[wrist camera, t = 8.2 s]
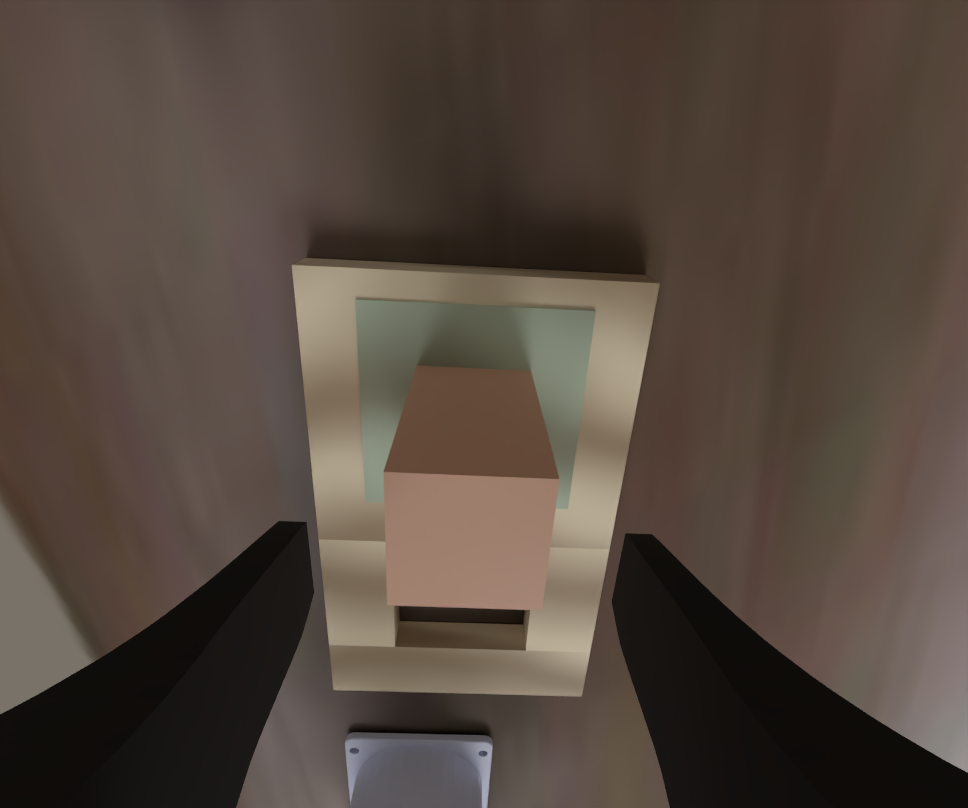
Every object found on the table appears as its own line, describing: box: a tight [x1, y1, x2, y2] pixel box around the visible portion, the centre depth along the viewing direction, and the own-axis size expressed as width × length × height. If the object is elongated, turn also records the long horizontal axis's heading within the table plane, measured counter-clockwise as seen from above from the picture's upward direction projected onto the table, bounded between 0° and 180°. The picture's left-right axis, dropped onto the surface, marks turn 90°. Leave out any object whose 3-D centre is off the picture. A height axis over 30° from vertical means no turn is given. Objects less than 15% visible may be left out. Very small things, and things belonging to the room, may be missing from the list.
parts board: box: [292, 258, 660, 696], centre depth 22 cm, size 20×12×2 cm, turn 177°
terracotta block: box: [383, 365, 560, 610], centre depth 16 cm, size 4×4×7 cm
